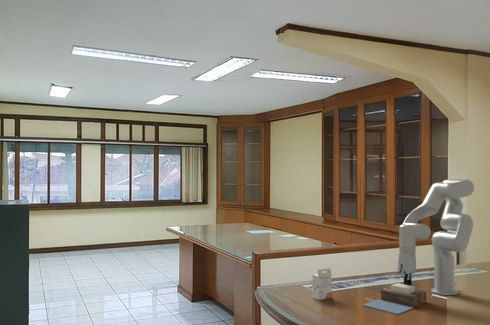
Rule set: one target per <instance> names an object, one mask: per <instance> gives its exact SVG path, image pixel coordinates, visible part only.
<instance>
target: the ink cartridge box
mask: <svg viewBox="0 0 490 325" xmlns="http://www.w3.org/2000/svg"><path fill="white" fill-rule="evenodd" d="M311 276H312V277H311V278H312V281H311V282H312V283H311V285H312V298H313V299H315V300H318V301H320V300H321V301H322V300H326V299H332V298H333V294H332V291H333V290H332V289H333V288H332V287H333V286H332V284H333V283H332V269H331V267H329V268H323V269H322V268H321V269H317V273H314V274H311Z"/></svg>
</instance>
